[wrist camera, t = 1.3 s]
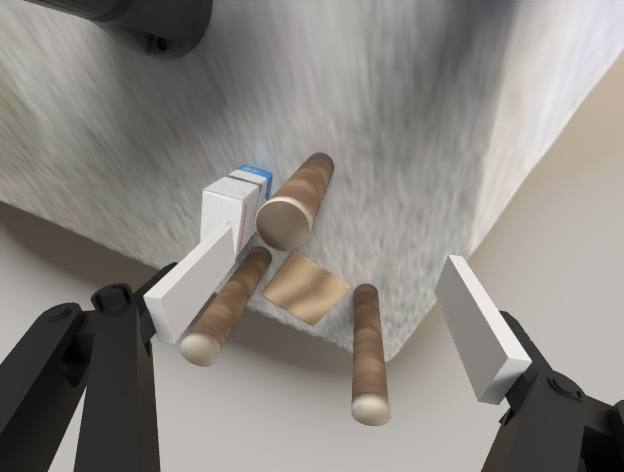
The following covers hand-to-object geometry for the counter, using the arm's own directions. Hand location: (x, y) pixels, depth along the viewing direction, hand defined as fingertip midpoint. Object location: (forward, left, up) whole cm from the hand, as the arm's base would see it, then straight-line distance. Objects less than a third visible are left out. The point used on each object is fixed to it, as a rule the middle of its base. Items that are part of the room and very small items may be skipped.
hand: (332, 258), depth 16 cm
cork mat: (+6, -22, -23) cm, 32 cm away
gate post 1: (-4, -21, -23) cm, 31 cm away
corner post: (+15, -15, -23) cm, 31 cm away
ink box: (-10, -11, -23) cm, 27 cm away
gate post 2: (-4, -2, -23) cm, 23 cm away
